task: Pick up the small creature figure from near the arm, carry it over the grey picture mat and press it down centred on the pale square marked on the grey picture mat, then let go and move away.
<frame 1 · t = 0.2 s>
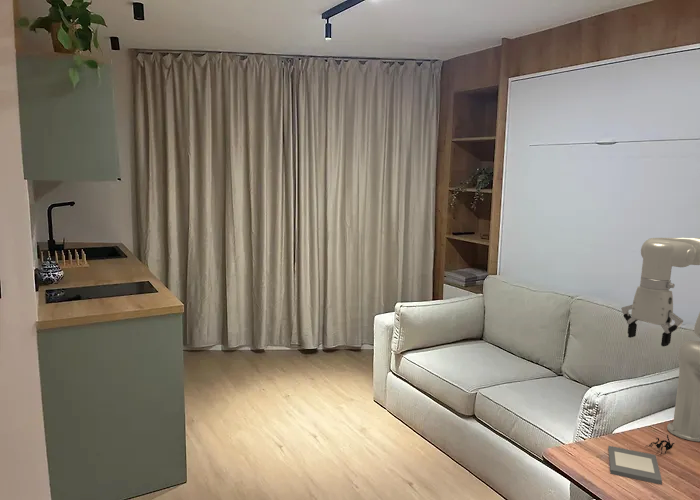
hand: (647, 341, 167), 36 cm above the table, tool pointing down, fingers open, 9 cm apart
grey picture mat: (633, 465, 167), on the table
creature: (657, 452, 177), on the table
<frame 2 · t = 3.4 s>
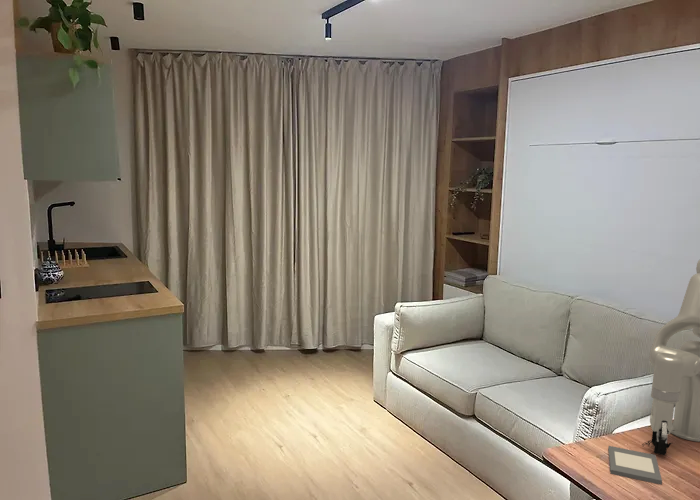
hand: (658, 448, 177), 1 cm above the table, tool pointing down, fingers closed on creature, 6 cm apart
creature: (654, 450, 177), on the table, touching gripper
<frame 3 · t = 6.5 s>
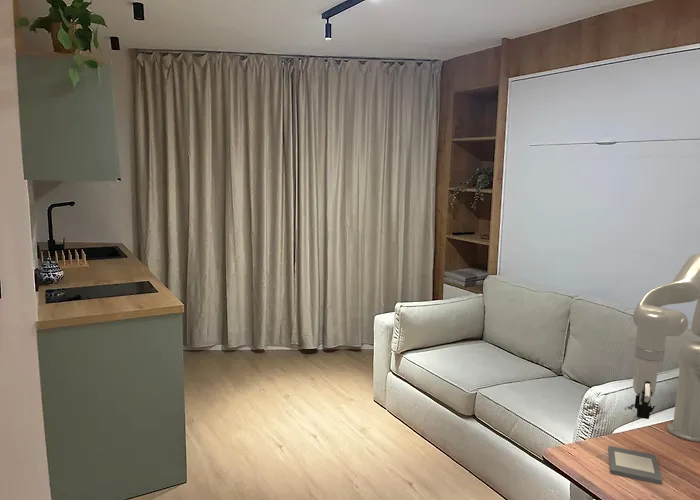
hand: (641, 412, 166), 16 cm above the table, tool pointing down, fingers closed on creature, 6 cm apart
creature: (637, 414, 166), point 15 cm above the table, touching gripper
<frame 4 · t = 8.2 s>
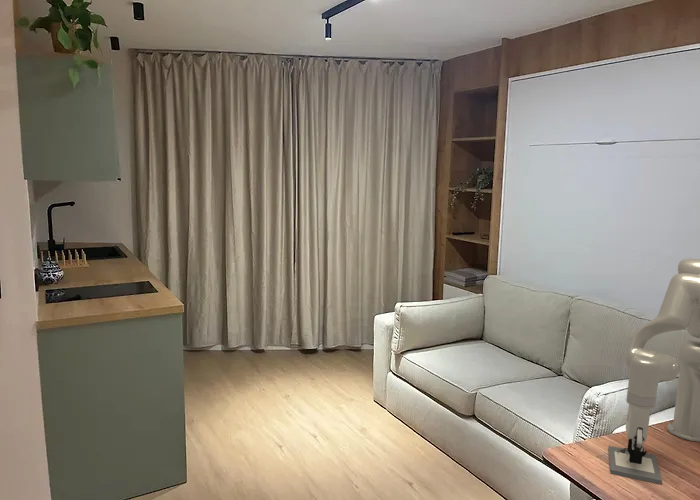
hand: (634, 456, 166), 3 cm above the table, tool pointing down, fingers closed on creature, 6 cm apart
creature: (629, 458, 167), point 2 cm above the table, touching gripper
when the fingers open (2 cm above the table, at t = 9.7 s): creature stays where it is, resting on grey picture mat.
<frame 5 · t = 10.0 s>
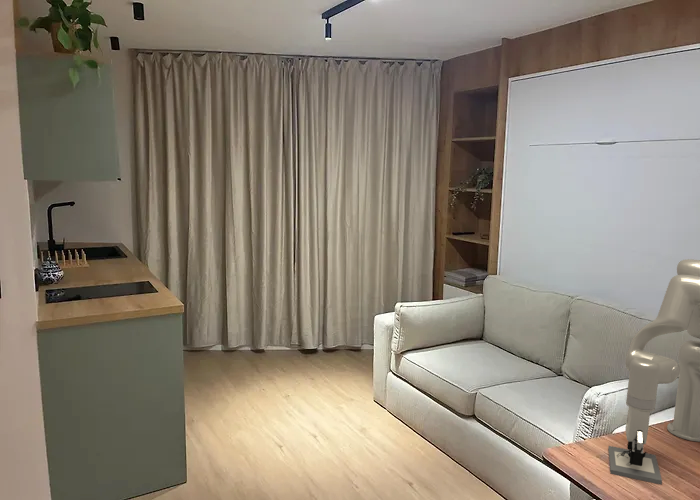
hand: (634, 457, 167), 3 cm above the table, tool pointing down, fingers open, 9 cm apart
creature: (629, 461, 167), point 1 cm above the table, touching grey picture mat
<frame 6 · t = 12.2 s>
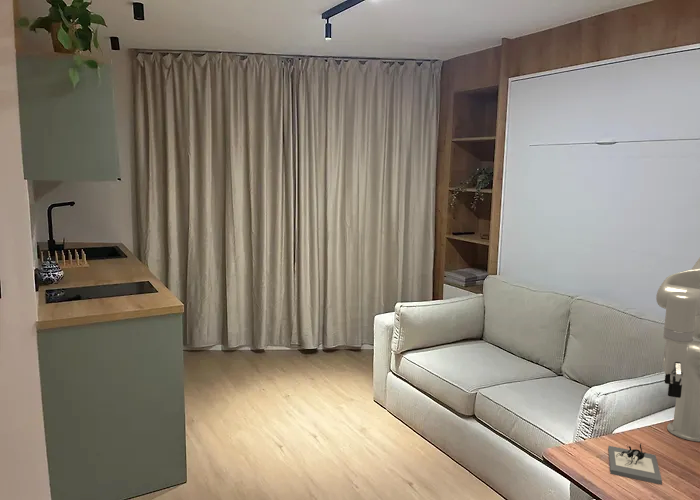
hand: (672, 390, 167), 22 cm above the table, tool pointing down, fingers open, 9 cm apart
nothing on the table moved.
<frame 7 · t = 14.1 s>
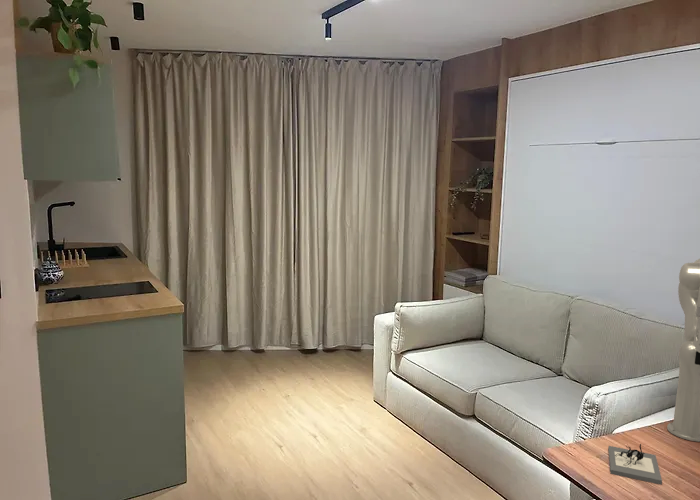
nothing on the table moved.
at the end: creature 1.5 cm off-centre on the grey picture mat, point 1.1 cm above the grey picture mat's base; creature tilted 0°; the gripper is holding nothing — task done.
